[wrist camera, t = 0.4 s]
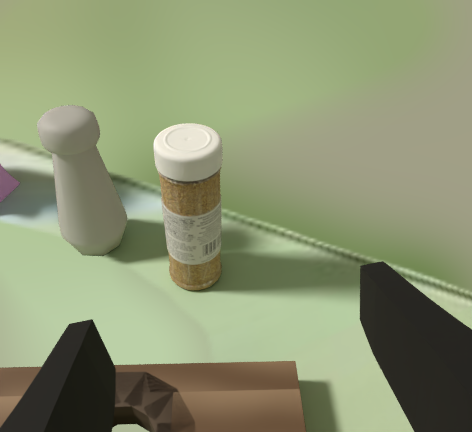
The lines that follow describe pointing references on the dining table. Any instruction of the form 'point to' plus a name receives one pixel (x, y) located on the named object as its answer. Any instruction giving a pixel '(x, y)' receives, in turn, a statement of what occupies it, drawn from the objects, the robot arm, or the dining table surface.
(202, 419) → the board
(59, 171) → the salt shaker
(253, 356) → the dining table surface
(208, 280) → the spice jar
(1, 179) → the toy chair
